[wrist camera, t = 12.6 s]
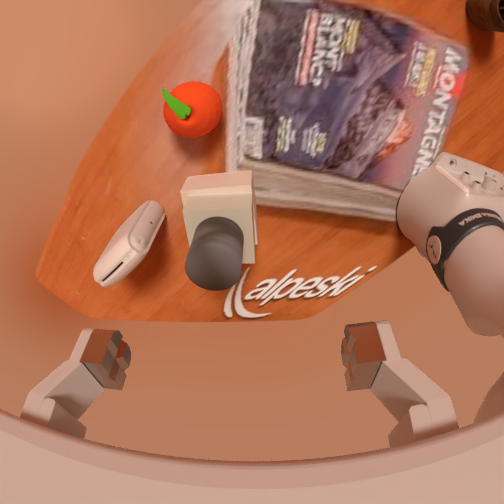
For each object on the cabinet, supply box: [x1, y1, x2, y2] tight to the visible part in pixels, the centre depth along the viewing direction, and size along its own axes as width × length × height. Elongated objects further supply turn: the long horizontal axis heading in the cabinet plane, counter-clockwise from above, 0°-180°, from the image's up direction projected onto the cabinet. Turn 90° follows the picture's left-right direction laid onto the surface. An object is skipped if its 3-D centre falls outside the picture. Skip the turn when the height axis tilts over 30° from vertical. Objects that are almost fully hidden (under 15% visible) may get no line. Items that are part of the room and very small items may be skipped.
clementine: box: [162, 82, 222, 138], centre depth 33 cm, size 8×7×7 cm
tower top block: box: [183, 192, 256, 264], centre depth 39 cm, size 8×8×4 cm
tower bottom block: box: [180, 170, 258, 244], centre depth 42 cm, size 9×9×5 cm
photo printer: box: [93, 200, 165, 287], centre depth 42 cm, size 10×4×12 cm, turn 130°
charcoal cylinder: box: [185, 216, 244, 291], centre depth 35 cm, size 6×6×6 cm
